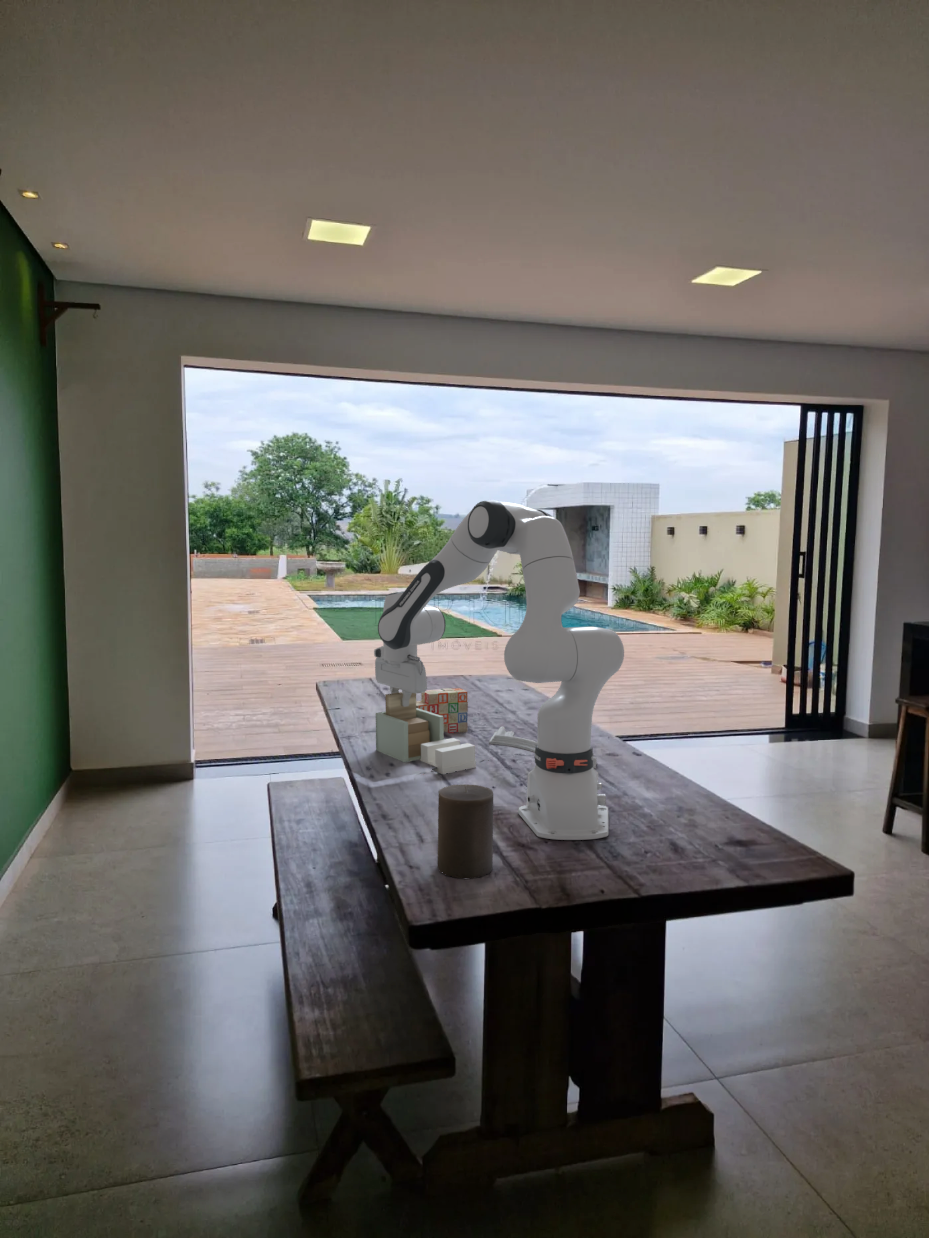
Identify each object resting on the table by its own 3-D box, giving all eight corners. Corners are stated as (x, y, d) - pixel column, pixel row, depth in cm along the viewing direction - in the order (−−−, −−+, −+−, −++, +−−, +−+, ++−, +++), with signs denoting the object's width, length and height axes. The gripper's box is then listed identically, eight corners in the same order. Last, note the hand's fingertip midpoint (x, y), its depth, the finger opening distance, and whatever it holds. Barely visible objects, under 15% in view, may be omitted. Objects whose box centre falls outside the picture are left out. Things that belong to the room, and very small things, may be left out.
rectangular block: (416, 747, 219) (416, 692, 217) (390, 752, 214) (390, 695, 213) (411, 745, 221) (411, 690, 219) (386, 750, 216) (385, 694, 214)
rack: (443, 758, 212) (443, 716, 211) (404, 766, 205) (403, 722, 204) (414, 747, 224) (414, 707, 222) (376, 754, 216) (375, 712, 215)
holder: (475, 767, 205) (475, 745, 204) (443, 774, 199) (442, 752, 198) (452, 758, 213) (452, 737, 212) (420, 765, 207) (420, 743, 206)
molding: (607, 768, 206) (607, 757, 205) (570, 776, 199) (570, 764, 199) (506, 733, 241) (506, 724, 240) (472, 739, 234) (472, 729, 234)
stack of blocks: (398, 739, 233) (397, 696, 232) (391, 733, 239) (391, 692, 238) (468, 732, 241) (467, 690, 240) (460, 727, 247) (460, 687, 245)
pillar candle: (458, 884, 137) (459, 797, 136) (426, 864, 145) (427, 782, 144) (504, 870, 143) (505, 786, 141) (471, 852, 151) (472, 773, 149)
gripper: (432, 656, 208) (433, 710, 210) (390, 647, 225) (391, 697, 226) (411, 658, 205) (412, 713, 206) (370, 649, 221) (371, 700, 222)
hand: (400, 704), depth 216 cm, fingers closed on rectangular block, 2 cm apart
